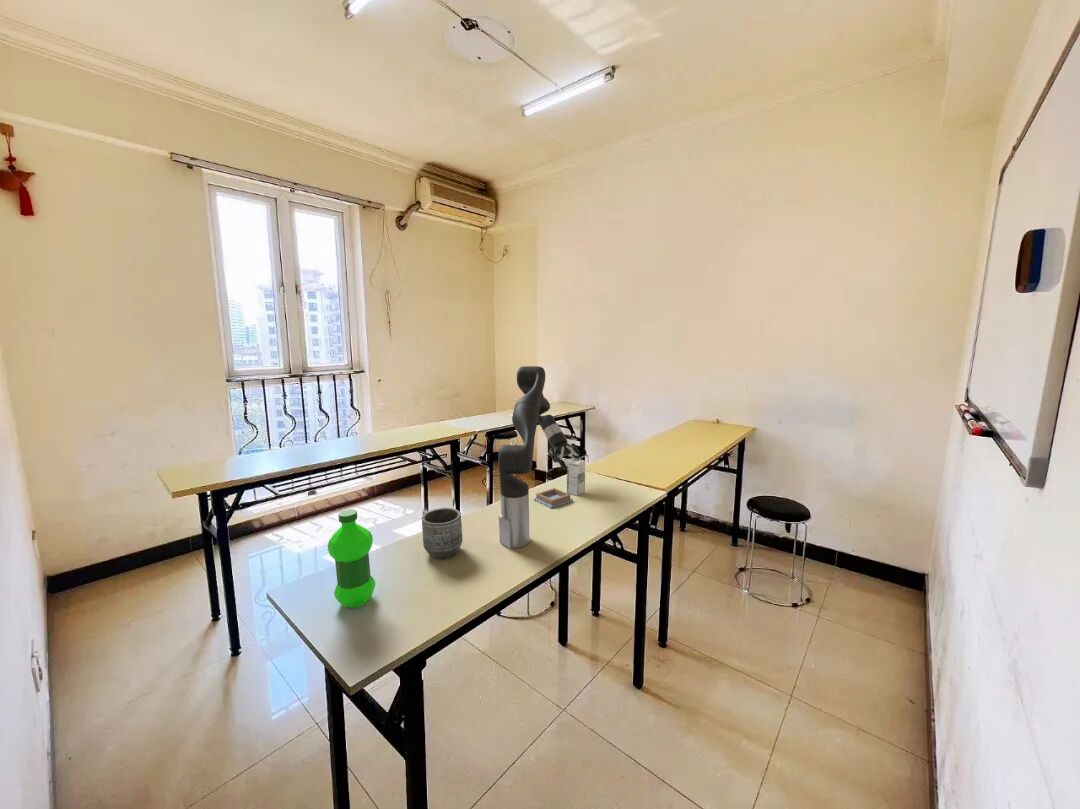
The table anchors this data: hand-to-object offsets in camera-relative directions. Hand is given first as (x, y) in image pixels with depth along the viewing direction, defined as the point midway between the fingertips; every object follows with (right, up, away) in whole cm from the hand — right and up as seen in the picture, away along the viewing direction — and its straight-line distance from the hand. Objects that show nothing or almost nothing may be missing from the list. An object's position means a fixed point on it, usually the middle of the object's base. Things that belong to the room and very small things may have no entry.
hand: (572, 466), depth 184 cm
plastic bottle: (-63, -25, -72) cm, 98 cm away
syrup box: (+1, -12, +1) cm, 12 cm away
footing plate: (-9, -13, -7) cm, 17 cm away
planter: (-45, -21, -48) cm, 69 cm away
